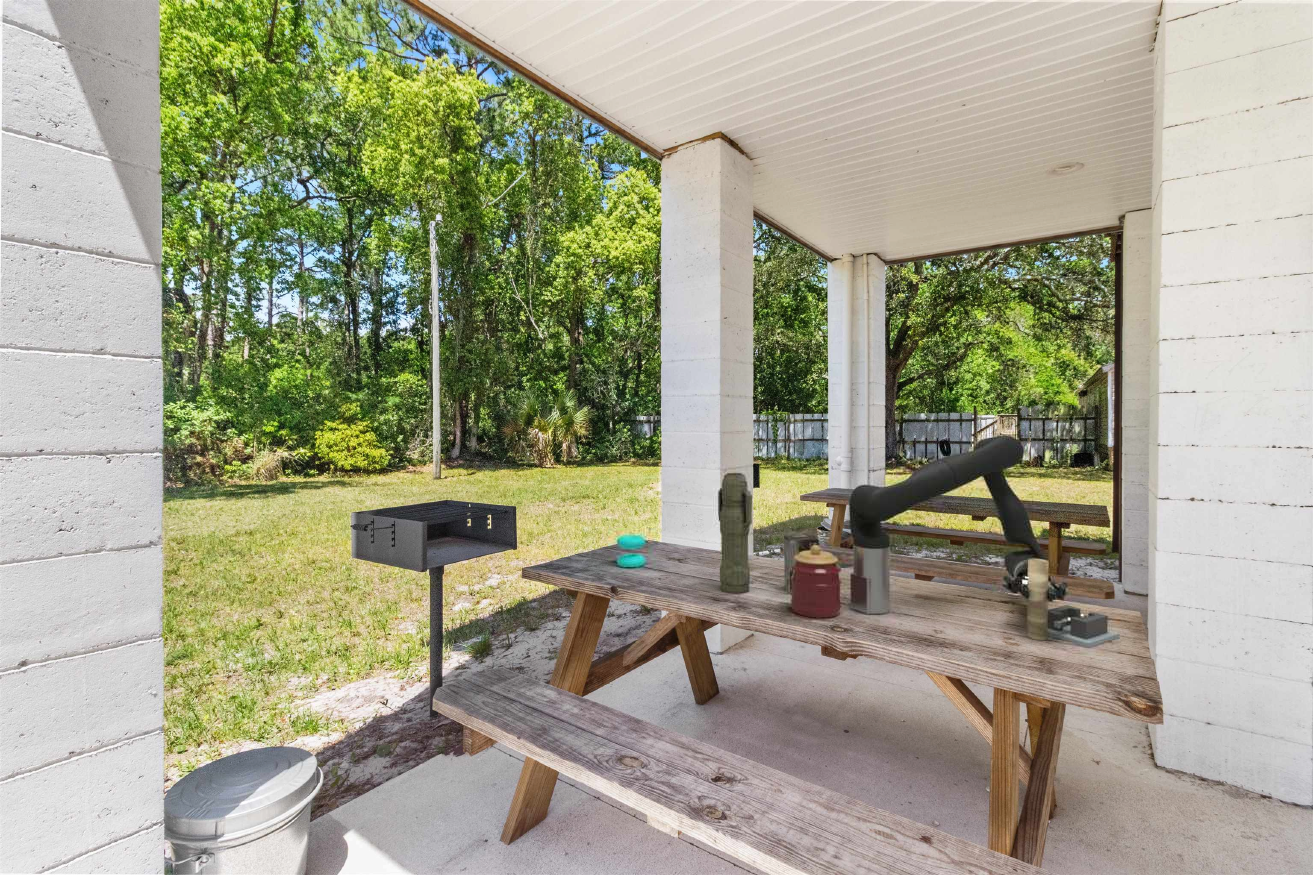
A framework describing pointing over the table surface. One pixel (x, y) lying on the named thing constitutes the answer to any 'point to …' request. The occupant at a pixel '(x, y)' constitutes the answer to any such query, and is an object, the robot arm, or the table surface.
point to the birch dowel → (1037, 599)
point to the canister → (816, 584)
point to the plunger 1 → (1063, 622)
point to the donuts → (631, 558)
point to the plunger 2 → (1083, 615)
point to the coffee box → (795, 553)
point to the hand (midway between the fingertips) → (1039, 595)
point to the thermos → (734, 533)
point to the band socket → (1080, 627)
